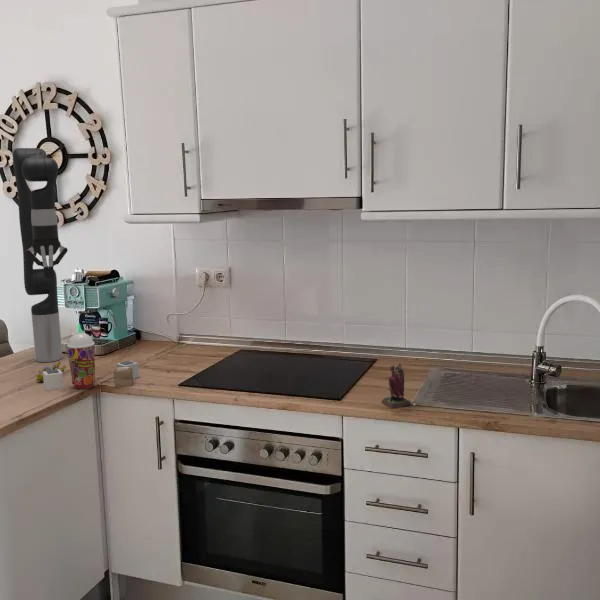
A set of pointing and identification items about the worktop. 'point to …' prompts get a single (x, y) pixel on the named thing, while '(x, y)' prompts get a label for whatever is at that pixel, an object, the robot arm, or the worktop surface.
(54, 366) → the toy
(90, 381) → the smoothie
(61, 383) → the white hollow cube
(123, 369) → the block walnut numbered
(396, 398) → the figurine
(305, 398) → the worktop surface
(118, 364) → the block grey numbered
